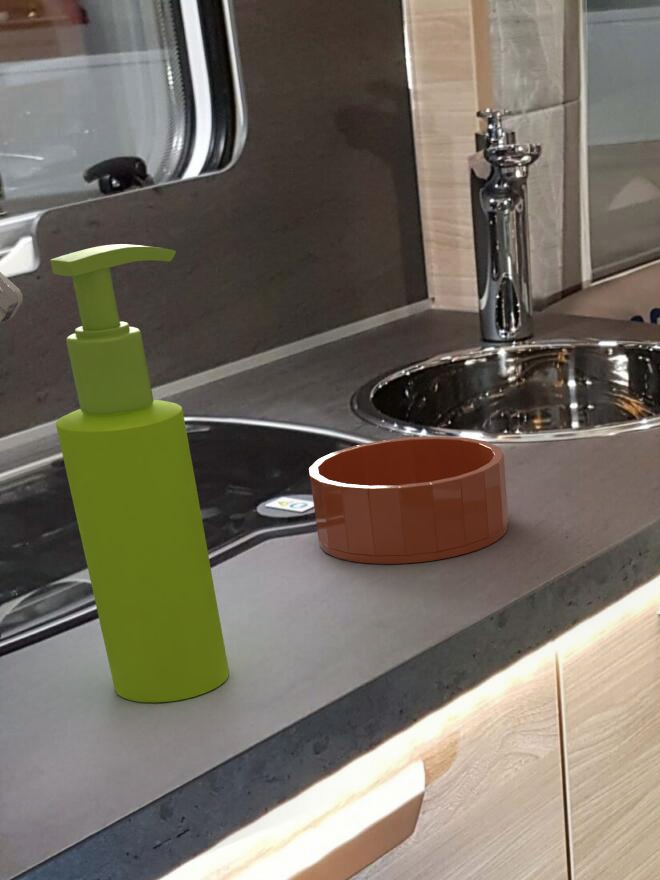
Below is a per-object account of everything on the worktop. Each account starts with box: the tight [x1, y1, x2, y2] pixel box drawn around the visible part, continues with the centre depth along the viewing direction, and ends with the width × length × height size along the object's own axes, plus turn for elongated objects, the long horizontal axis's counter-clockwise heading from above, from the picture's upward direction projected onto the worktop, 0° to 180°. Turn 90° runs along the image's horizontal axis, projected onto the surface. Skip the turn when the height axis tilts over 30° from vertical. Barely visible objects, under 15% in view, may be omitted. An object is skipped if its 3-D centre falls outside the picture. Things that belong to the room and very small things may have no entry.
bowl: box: [308, 435, 509, 565], centre depth 97 cm, size 12×12×4 cm
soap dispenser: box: [49, 243, 230, 704], centre depth 74 cm, size 6×7×20 cm
